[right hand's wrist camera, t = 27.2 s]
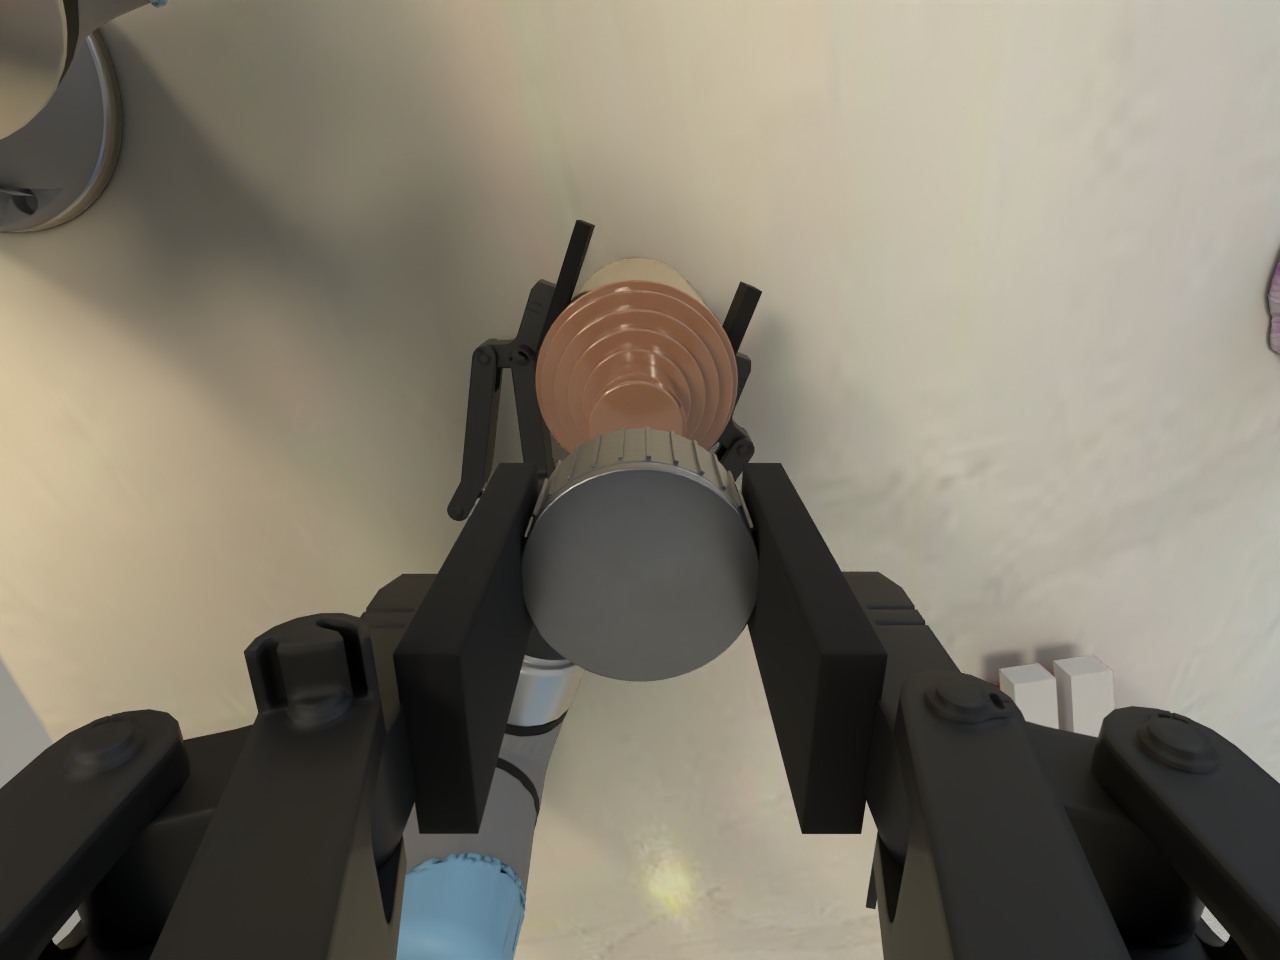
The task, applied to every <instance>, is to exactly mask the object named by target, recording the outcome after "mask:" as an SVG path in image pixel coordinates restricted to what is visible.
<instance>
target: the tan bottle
mask: <svg viewBox="0 0 1280 960" xmlns="http://www.w3.org/2000/svg"><path fill="white" fill-rule="evenodd" d="M535 377H536V393H537V400H538V404H539V407H540V411H541V414H542V416H543V418H544V421H545V423H546V425H547V427H548V429H549V430H550V432H551V434H552V435H553V437H554V438H555V439H556V440H557V442H558V443H559V444H560V445H561V447H562V448H563V449H565V450H566V451H567V452H568V453H569V454H570V453H571V452H572V451H574V449H575V446H577V445H579V446H581V445H582V444H584V443H586V442H588V441H590V440H592V439H593V438H596V435H597V434H601V435H604V434H606V433H610V432H614V431H618V430H620V428H625V429H634V428H643V429H645V428H646V427H650V429H656V430H662V431H667V432H670V431H674V432H675V434H677V435H680V436H682V437H684V438H687V439H689V440H691V441H693V440H696V441H697V443H698V445H700V446H701V447H703V448H704V449H705V450H707V451H708V450H709V449H710V448H711V447H712V446H713V445H714V443H715V442H716V441H717V440H718V438H719V437H720V435H721V434H722V433H723V431H724V429H725V427H726V425H727V423H728V422H729V420H730V417H731V414H732V411H733V409H734V405H735V400H736V396H737V386H738V374H737V365H736V359H735V355H734V352H733V349H732V345H731V343H730V341H729V338H728V336H727V334H726V332H725V330H724V329H723V327H722V326H721V324H720V323H719V321H718V320H717V319H716V317H715V316H714V315H713V313H712V312H711V311H710V310H709V308H708V307H707V306H706V305H705V303H704V302H703V301H702V299H701V298H700V297H699V296H698V294H697V293H696V292H695V290H694V289H693V288H692V287H691V285H690V284H689V283H688V282H687V281H686V279H685V278H684V277H683V276H682V275H680V274H679V273H678V272H677V271H676V270H674V269H673V268H671V267H670V266H668V265H666V264H663V263H661V262H658V261H655V260H652V259H646V258H628V259H623V260H619V261H616V262H613V263H611V264H608V265H607V266H605V267H603V268H601V269H600V270H599V271H597V272H596V273H595V274H594V275H593V276H592V277H591V278H590V279H589V280H588V281H587V282H586V283H585V284H584V286H583V287H582V288H581V289H580V290H579V292H578V293H577V294H576V295H575V297H574V298H573V299H572V300H571V302H570V303H569V304H568V305H567V306H566V308H565V309H564V310H563V311H562V313H561V314H560V315H559V316H558V318H557V319H556V320H555V322H554V323H553V324H552V326H551V327H550V329H549V331H548V333H547V334H546V336H545V338H544V341H543V343H542V346H541V348H540V352H539V356H538V360H537V366H536V375H535Z"/></svg>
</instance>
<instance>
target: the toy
mask: <svg viewBox="0 0 1280 960" xmlns="http://www.w3.org/2000/svg"><path fill="white" fill-rule="evenodd" d="M1053 670H1054V676H1053V675H1051V674H1050V673H1049V672H1048V671H1047V670H1046V669H1045V668H1044V667H1043V666H1041V665H1040V664H1039V663H1034V664H1027V665H1021V666H1014V667H1007V668H1000V669H999V680H1000V686H996V687H997V688H998V689H1000V690H1001V691H1003V692H1004V693H1005V694H1007V695H1008V696H1009V697H1011V698H1012V700H1013V701H1014V703H1015V704H1016V705H1017V707H1018V708H1019V709H1020V711H1021V712H1022V714H1023V716H1024V719H1025V721H1028V722H1031V723H1035V724H1039V725H1042V726H1046V727H1051V728H1055V729H1060V730H1065V731H1070V732H1075V733H1079V734H1084V735H1089V736H1094V737H1098V736H1099V732H1100V729H1101V725H1102V722H1103V718H1105V717H1106V716H1107V715H1108V714H1109V713H1110V712H1112V711H1113V710H1115V702H1114V677H1113V669H1111V668H1110V667H1109V666H1107V665H1106V664H1105V663H1103V662H1102V661H1101V660H1100V659H1098V658H1097V657H1096V656H1094V655H1088V656H1081V657H1075V658H1068V659H1061V660H1054V661H1053Z"/></svg>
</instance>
